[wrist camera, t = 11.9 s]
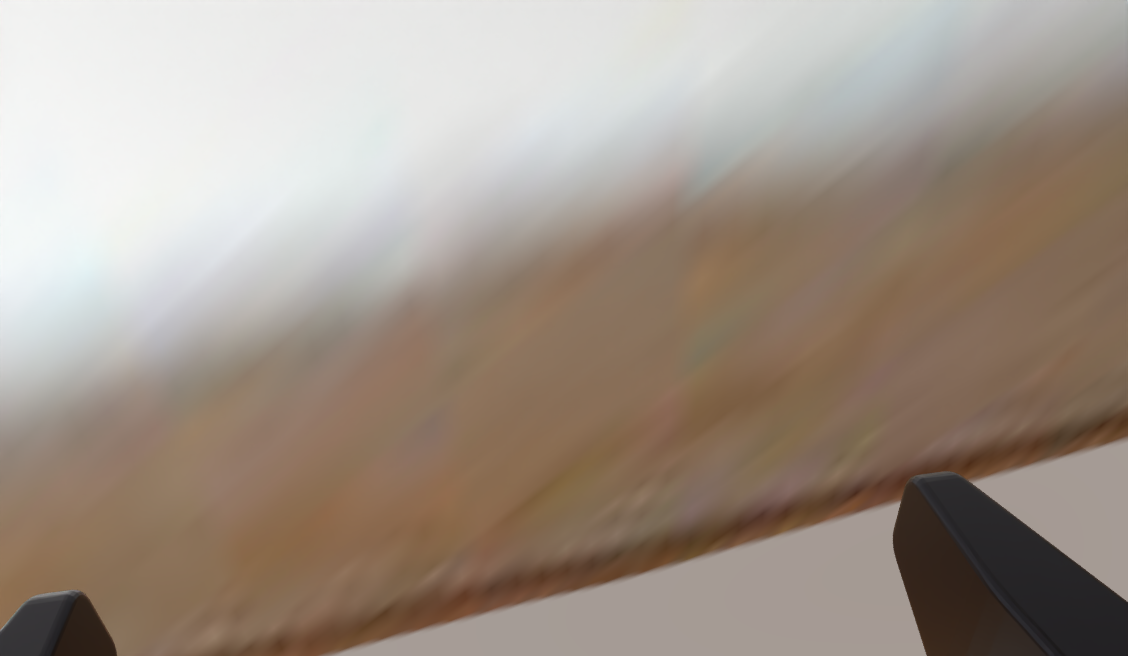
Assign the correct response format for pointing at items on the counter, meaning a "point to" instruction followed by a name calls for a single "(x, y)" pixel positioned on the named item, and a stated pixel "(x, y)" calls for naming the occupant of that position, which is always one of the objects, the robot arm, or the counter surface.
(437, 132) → the counter surface
